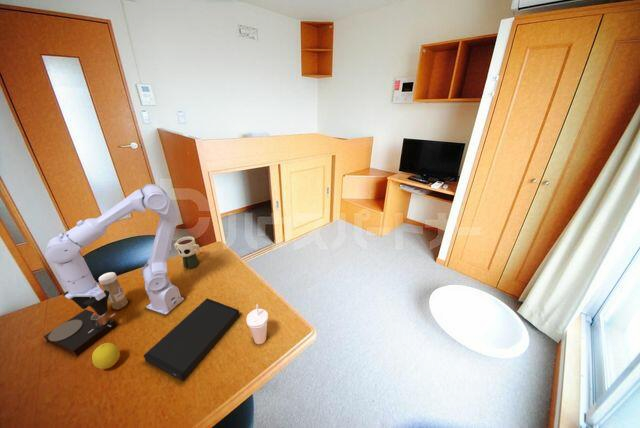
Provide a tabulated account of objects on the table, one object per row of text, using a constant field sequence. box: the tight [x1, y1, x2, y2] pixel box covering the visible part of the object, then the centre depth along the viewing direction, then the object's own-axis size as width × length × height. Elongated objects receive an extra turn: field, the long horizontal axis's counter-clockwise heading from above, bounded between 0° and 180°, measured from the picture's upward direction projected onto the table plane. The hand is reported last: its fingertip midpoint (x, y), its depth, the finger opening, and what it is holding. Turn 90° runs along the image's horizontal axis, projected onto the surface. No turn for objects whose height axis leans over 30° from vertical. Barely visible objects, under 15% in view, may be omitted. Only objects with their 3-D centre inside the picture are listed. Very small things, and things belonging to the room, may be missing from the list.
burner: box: [48, 320, 83, 342], centre depth 74 cm, size 8×8×1 cm
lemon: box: [91, 342, 121, 370], centre depth 65 cm, size 6×6×8 cm
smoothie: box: [245, 303, 269, 345], centre depth 72 cm, size 6×6×14 cm
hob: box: [43, 308, 118, 357], centre depth 76 cm, size 15×13×3 cm
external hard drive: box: [143, 298, 240, 382], centre depth 74 cm, size 14×23×3 cm, turn 158°
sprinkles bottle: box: [98, 271, 129, 310], centre depth 83 cm, size 5×5×14 cm
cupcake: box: [91, 311, 110, 328], centre depth 75 cm, size 4×4×4 cm
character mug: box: [173, 236, 201, 269], centre depth 105 cm, size 11×7×13 cm, turn 86°
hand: (95, 309), depth 74 cm, fingers open, 7 cm apart
